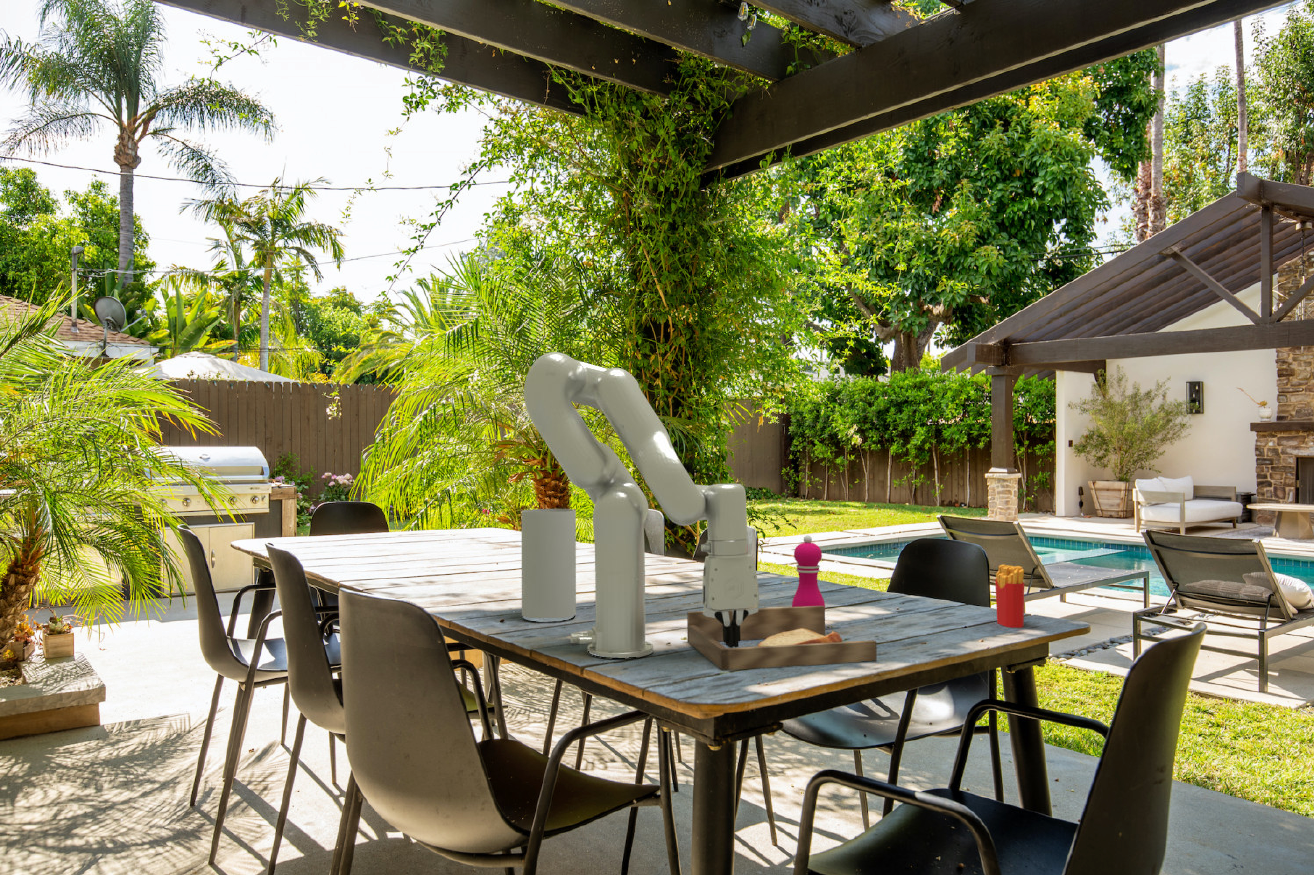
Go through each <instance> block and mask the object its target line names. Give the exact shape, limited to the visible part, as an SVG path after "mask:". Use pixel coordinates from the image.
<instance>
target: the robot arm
mask: <svg viewBox="0 0 1314 875" xmlns="http://www.w3.org/2000/svg"><path fill="white" fill-rule="evenodd" d="M523 398H524V404H525V407H526V412H527V413H528V416H529V418H530V420H531V422H532V424H533V425H534V428H535V429H536V430H537V432H538V433H539V435H540V437H541V438H542V439H543V441H544V442H545V444H546V445H547V448H549V450H550V451H551V454H552V455H553V457H554V458H555V459H556V461H557V462H558V463H559V466H560V467H561V468H562V470H563V471H564V473H565V475H566V477H567V478H568V480H569V481H570V482H571V483H572V484H573V485H574V486H576V487H577V488H580V489H583V490H584V491H585V493H586V494H587V496H588V498H589V499H590V500H591V501H592V502H593V504H594V508H593V513H592V526H593V528H592V529H593V540H594V571H595V572H594V573H595V574H594V575H595V576H594V577H595V580H594V582H595V583H594V584H595V586H594V587H595V589H594V592H595V593H594V594H595V607H594V608H595V626H592V627H591V630H587V632H570V643H571V644H579V645H585V644H588V645H587V646H586V647H587V648H586V649H587V652H588V651H589V652H591V653H593V654H596V655H599V656H604V657H618V658H625V659H630V658H629V657H636V658H641V657H646V656H648V655H650V654H652V653H653V652H654V644H652V643H651V642H650V641H646V570H645V569H646V566H645V565H646V564H645V563H646V562H645V532H644V531H645V522H646V519H647V517H648V514H649V502H648V500H647V497H646V495H645V493H644V492H643V491H642V489H641V488H640V487H639V485H638V484H637V481H635V479H634V478H633V476H632V475H631V473H630V472H629V470H628V469H627V468H626V466H625V464H624V463H623V462H622V461H621V459H620V457H619V456H618V454H616V453H615V451H614V450H613V449H612V448H611V447H610V446H609V445H607V444H606V443H603V442H601V441H599V440H598V438H596V436H595V435H594V434H593V432H592V431H591V430H590V428H589V427H588V425H587V423H585V420H584V419H583V417H582V416H581V414H580V413H579V412H578V411H577V409H576V408H575V406H574V405H573V404H572V403H575V404H580V405H583V406H587V407H591V408H594V409H598V410H601V411H602V413H603V415H604V417H605V418H606V419H607V421H608V422H609V424H610V426H611V427H612V428H613V430H614V432H615V433H616V435H617V437H618V438H619V441H620V442H621V444H622V445H623V446H624V448H625V450H626V451H627V453H628V455H629V457H630V459H631V461H632V462H633V463H634V465H635V466H636V468H637V469H638V471H639V474H640V475H641V477H642V478H643V480H644V481H645V483H646V485H647V487H648V488H649V489H650V491H651V493H652V495H653V496H654V498H655V500H656V501H657V502H658V504H659V506H660V508H661V509H662V510H663V512H664V514H665V515H666V517H667V518H668V519H669V520H670V521H671V522H672V523H674V524H676V525H678V526H690V525H694V524H696V523H697V522H699V521H705V520H706V521H707V522H706V523H707V525H706V526H707V539H706V542H705V543H703V544H700V550H701V552H706V553H707V554H708V555H707V556H705V557H704V558H705V559H704V566H703V572H702V604H703V607H702V608H703V609H702V611H703V615H704V616H707V617H712V618H716V619H717V620H718V621H719V622H720V623H721V624H723V641H722V642H724V643H725V646H727V648H739V646H740V644H739V642H741V641H742V640H741V637H740V625H741V624H742V622H743V621H744V619H745V618H746V617H747V616H748V615H751V614H754V613H757V612H758V609H759V604H760V592H759V582H758V575H757V570H756V563H755V560H754V555H752V554H749V543H748V541H749V540H748V519H747V518H748V515H747V494H746V493H747V492H746V489H745V486H743V485H742V484H740V483H716V484H714V483H713V484H711V485H706V484H705V485H703V484H695V482H694V481H693V480H692V477H691V476H690V475H689V473H688V471H687V469H686V468H685V467H684V465H683V463H682V462H681V460H680V459H679V457H678V455H677V452H676V451H675V449H674V446H673V444H672V442H671V441H672V440H671V438H670V434H669V433H668V431H667V429H666V427H665V426H664V424H663V422H662V421H661V420H660V418H659V416H658V415H657V414H656V412H655V410H654V409H653V407H652V405H651V404H650V403H649V401H648V399H647V397H646V396H645V394H644V393H643V391H642V390H641V388H640V384H639V382H638V381H637V379H636V378H635V377H634V376H633V374H631V373H630V372H628V371H627V370H626V369H623V368H619V367H611V368H606V367H602V366H600V365H599V366H598V365H595V364H591V363H587V362H584V361H581V360H577V359H574V358H572V357H571V356H569V355H568V354H565V353H563V352H558V351H554V352H553V351H552V352H547V353H545V354H542V355H540V356H539V357H538V358H537V359H536V360H535V361H534V362H533V364H532V365H531V367H530V369H529V371H528V372H527V375H526V378H525V382H524V388H523ZM731 610H733V614H732V621H731V622H730V619H729V613H728V611H731Z"/></svg>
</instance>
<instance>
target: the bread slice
mask: <svg viewBox="0 0 1314 875" xmlns="http://www.w3.org/2000/svg"><path fill="white" fill-rule="evenodd" d="M833 642H843V639H842V636H841V635H840V633H838V632H837V631H836V632H835V630H831V633H828V634H827V635H826V634H825V636H823V635H820V634H818V633H816V632H814V631H811V630H808V629H804V628H800V629H796V630H792V631H787V632H782V633H779V634H776V635H772V636H770V637H768V638H767V639H763V641H760V642H759V643H758V644H757V646H756V647H760V646H778V645H796V644H814V643H833Z"/></svg>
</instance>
